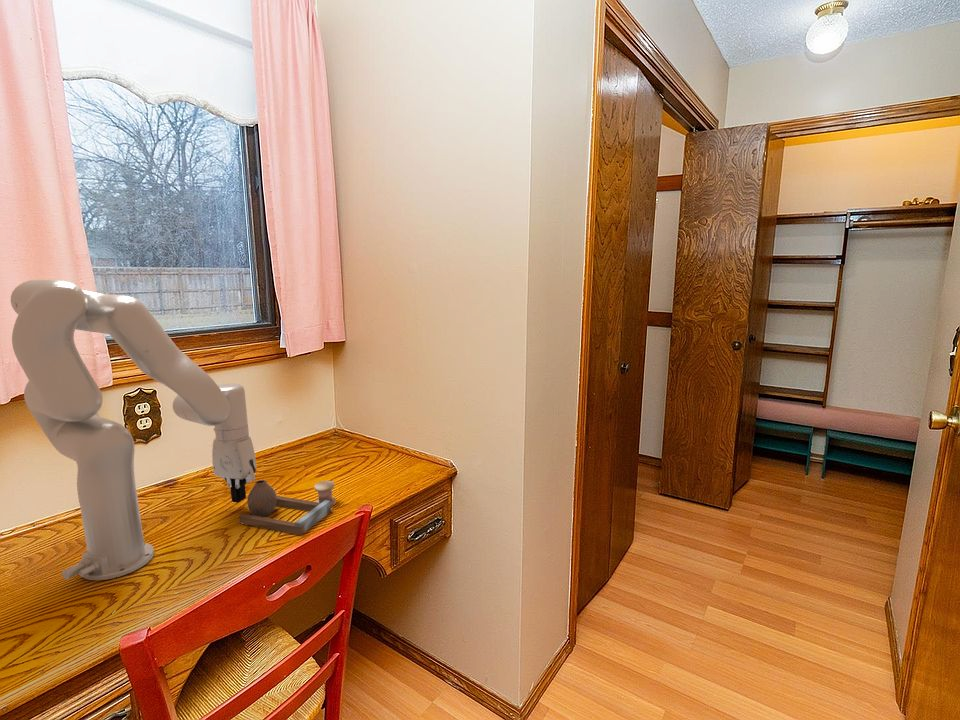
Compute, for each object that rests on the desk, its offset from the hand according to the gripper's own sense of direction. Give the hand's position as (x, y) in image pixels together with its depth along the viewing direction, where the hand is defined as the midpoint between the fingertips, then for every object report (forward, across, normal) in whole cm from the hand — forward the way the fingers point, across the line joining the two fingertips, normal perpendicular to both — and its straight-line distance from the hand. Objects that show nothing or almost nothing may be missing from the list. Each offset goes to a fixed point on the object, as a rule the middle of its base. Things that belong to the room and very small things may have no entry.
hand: (239, 500), depth 128 cm
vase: (+3, +8, 0) cm, 8 cm away
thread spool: (+3, +20, +9) cm, 22 cm away
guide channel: (+3, +14, 0) cm, 15 cm away
